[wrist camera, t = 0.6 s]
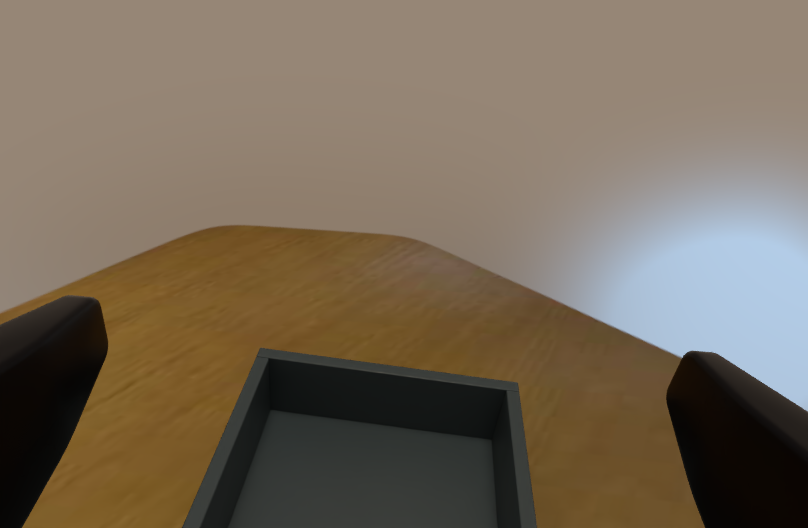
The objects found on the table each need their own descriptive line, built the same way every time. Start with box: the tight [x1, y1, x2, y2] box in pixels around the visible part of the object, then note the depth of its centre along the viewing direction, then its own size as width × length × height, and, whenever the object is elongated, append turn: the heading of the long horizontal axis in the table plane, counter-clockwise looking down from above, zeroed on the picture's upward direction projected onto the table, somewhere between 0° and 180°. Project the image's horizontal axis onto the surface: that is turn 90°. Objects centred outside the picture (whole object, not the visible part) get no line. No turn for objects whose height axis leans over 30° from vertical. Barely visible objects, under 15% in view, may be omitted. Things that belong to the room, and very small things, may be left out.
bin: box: [182, 348, 537, 528], centre depth 22 cm, size 12×12×4 cm
